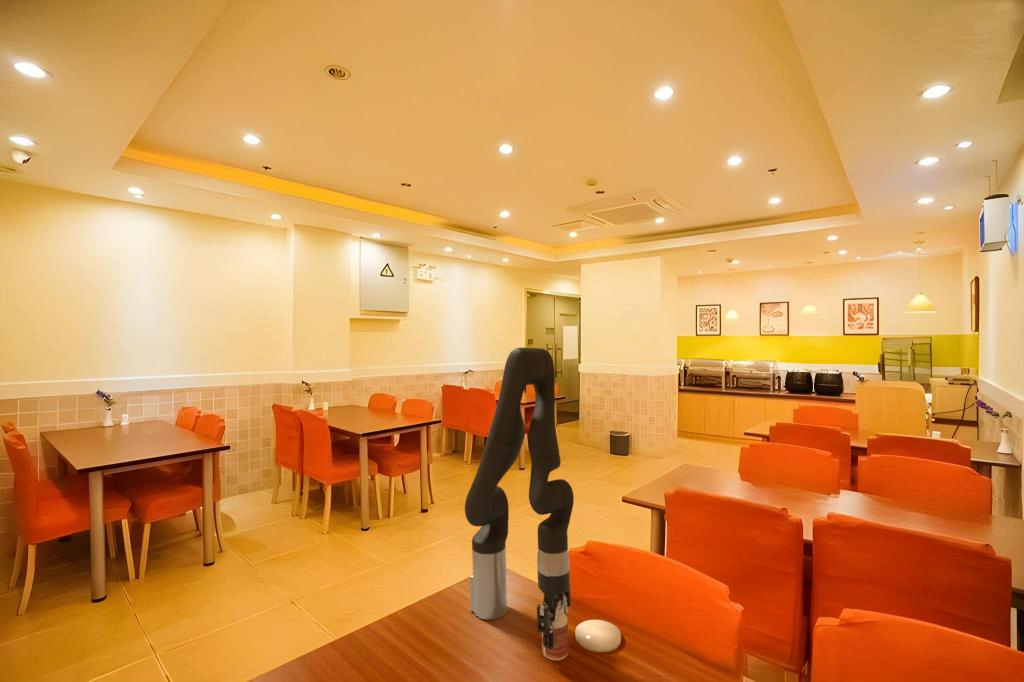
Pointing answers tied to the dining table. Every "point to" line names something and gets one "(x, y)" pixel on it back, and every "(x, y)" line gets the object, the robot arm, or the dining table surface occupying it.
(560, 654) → the pill bottle
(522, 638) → the dining table surface
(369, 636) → the dining table surface
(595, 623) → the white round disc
